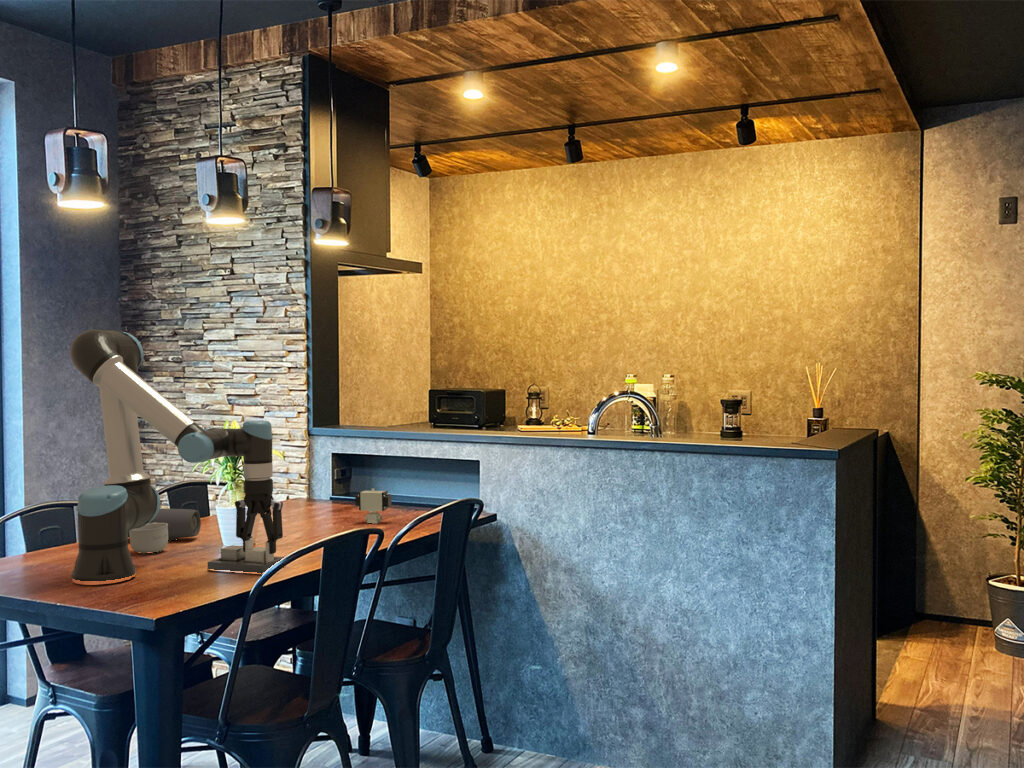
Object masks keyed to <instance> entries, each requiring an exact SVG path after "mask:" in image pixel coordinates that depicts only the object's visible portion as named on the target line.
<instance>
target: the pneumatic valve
mask: <svg viewBox="0 0 1024 768" xmlns="http://www.w3.org/2000/svg"><path fill="white" fill-rule="evenodd" d="M392 500H393V499H392V495H391V494H389V490H376V489H375V488H371V490H362V491H359V492H358V493H356V495H355V497H354V502H355V503H354V504H355V506H356V507H357V508H358V511H362V512H363V511H367V512H368V513H367V514H366V515H365V517H364V520H365V522H366V524H368V523H372V524H371V525H377V524H379V523H380V522H382V520H383V518H382V517H383V515H382V514H381V513H380V512H385V511H386V510H388V509H389V508H391V506H392Z"/></svg>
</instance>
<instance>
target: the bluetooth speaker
mask: <svg viewBox="0 0 1024 768" xmlns="http://www.w3.org/2000/svg"><path fill="white" fill-rule="evenodd" d="M155 522H156V523H167V524H168V540H176V539H180V538H193V537H196V536H198V535H199V533H200V531H201V525H202V520H201V515H200V511H199V510H198V509H189V508H188V509H187V508H161V507H160V509H159V512H158V514H157V515H156V517H155V518H154V519H153V520H152V521H151V522H149V523H155ZM149 523H147V524H149ZM128 538H130V535H129V531H128ZM176 541H177V540H176Z"/></svg>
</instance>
